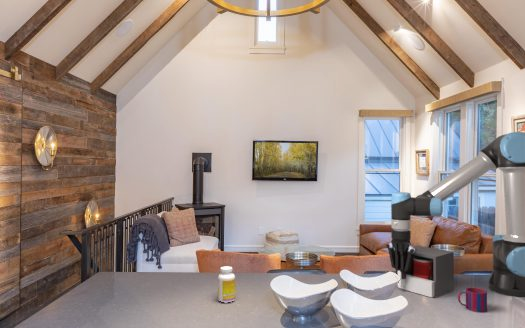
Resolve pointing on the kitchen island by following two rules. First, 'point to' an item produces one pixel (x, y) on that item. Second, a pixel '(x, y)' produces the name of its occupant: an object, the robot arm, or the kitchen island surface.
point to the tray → (419, 285)
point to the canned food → (423, 268)
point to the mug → (475, 299)
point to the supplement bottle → (226, 284)
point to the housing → (438, 268)
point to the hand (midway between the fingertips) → (401, 286)
